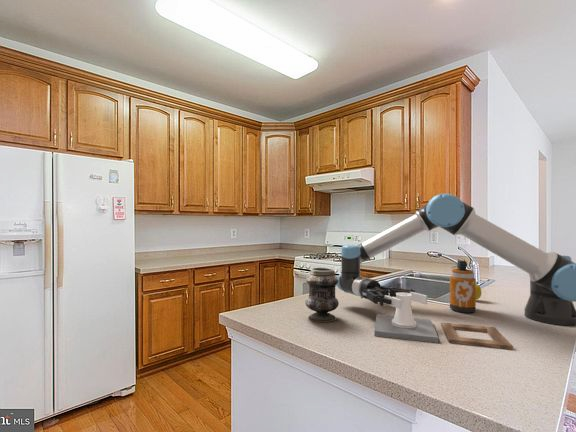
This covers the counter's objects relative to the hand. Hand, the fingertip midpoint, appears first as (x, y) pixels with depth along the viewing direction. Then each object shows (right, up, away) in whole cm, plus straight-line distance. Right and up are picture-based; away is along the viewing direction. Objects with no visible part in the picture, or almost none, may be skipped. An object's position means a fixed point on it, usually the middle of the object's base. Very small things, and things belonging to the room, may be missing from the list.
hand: (413, 302), depth 100 cm
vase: (-2, -9, +4) cm, 9 cm away
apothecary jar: (-28, -10, +15) cm, 33 cm away
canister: (+30, -10, +26) cm, 41 cm away
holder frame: (+17, -10, -3) cm, 20 cm away
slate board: (-2, -10, +3) cm, 11 cm away
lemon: (+42, -10, +40) cm, 59 cm away
